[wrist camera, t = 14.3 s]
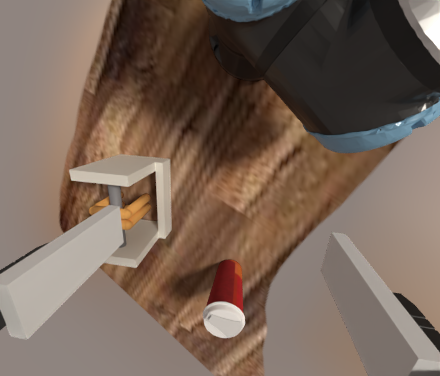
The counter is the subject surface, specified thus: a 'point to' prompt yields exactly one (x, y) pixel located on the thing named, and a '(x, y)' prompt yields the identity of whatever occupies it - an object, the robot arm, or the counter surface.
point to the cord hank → (127, 210)
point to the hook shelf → (144, 229)
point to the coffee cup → (225, 302)
